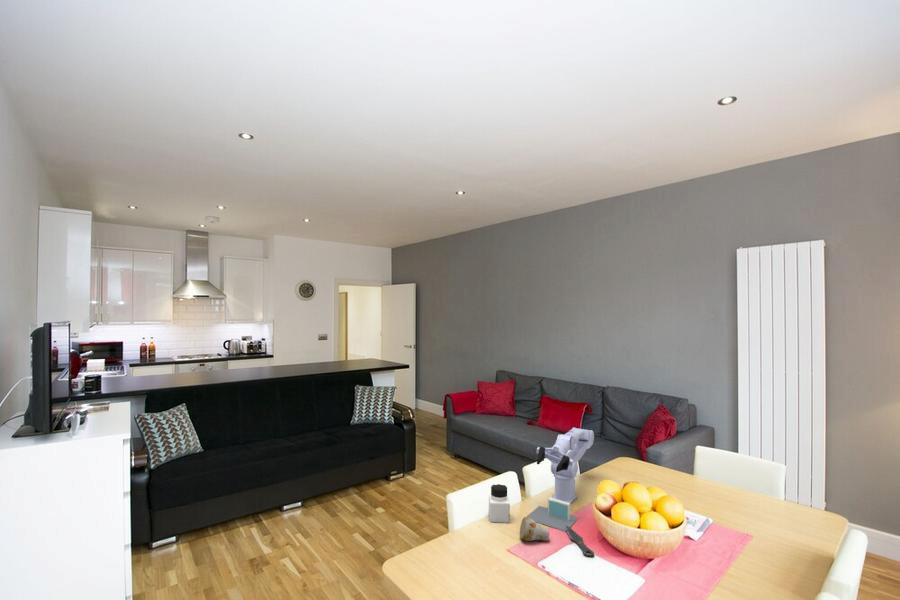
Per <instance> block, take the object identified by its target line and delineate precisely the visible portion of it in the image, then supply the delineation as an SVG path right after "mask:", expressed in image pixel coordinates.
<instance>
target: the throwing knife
mask: <svg viewBox="0 0 900 600" xmlns="http://www.w3.org/2000/svg"><path fill="white" fill-rule="evenodd" d="M565 527H566V530H567V532H566V533H567V534H568V537H569V539H570V540H571V541H573V542H575V543H576V545H578V546H579V548H580V550H581V553H582V555H583V554H584V555H583V556H585V557H588V558H593V557H594V556H595V552H594V551H593V550H591V549H590V548H589V547H588V546H587V545H586V544H585V543H584V542H583V539H584V538H583V537H582V536H581V535H579V533H578V532H576V531H575V530H574V529H572V527H568V526H567V525H565Z"/></svg>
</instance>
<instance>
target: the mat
mask: <svg viewBox="0 0 900 600" xmlns="http://www.w3.org/2000/svg"><path fill="white" fill-rule="evenodd" d="M526 517H528V518H531V519H532V520H534V521H535V522H536V523H537V524H540V525H543V526H546V527H550V528H552V529H555V530H559V531H562V532H564V531H565V532H564V533H567V530H566V527H565V525H567V526H568V527H570V528H572V526H573V525H575V523H576V522H577V521H578V520H577V519H578V518H579V517H578V516H574V515H573V514H570V520H569V521H566V520H563V519H559V518H556V517H553V516H550V515H548V507H544V506H541V505H538V506H537V507H536V508H535V509H533V511H532V510H531V512H530V513H529V514H527V516H526ZM576 520H577V521H576Z"/></svg>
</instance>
